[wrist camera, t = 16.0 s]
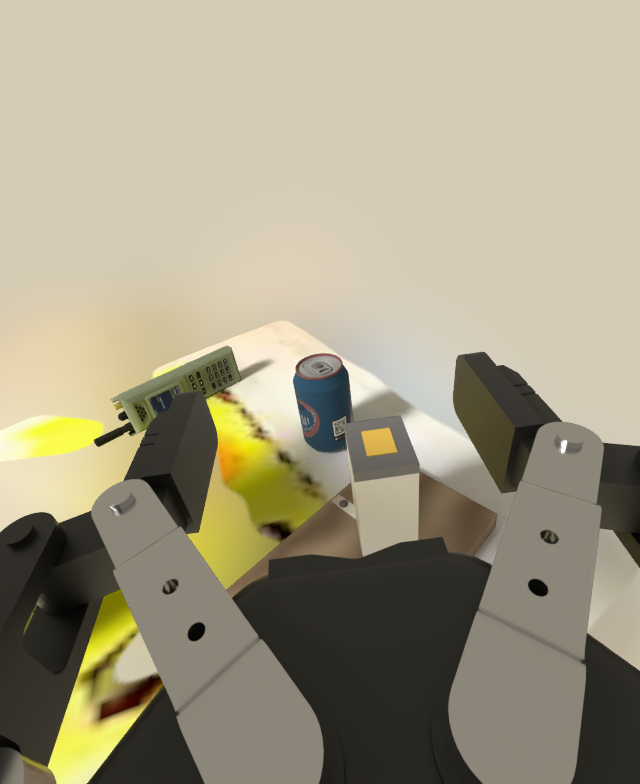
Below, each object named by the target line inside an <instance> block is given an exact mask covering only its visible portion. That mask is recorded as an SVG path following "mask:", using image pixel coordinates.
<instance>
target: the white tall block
mask: <svg viewBox="0 0 640 784" xmlns="http://www.w3.org/2000/svg"><path fill="white" fill-rule="evenodd" d="M344 428H345V436H346V444H347V452H348V460H349V468H350V476H351V485H352V493H353V501H354V509H355V516H356V521H357V527H358V533H359V538H360V544H361V550H362V555H363V557H364V556H367V555H369V554H372V553H374V552H377V551H379V550H382V549H384V548H387V547H389V546H392V545H395V544H397V543H400V542H407V541H415V540H418V518H419V462H418V459H417V457H416V454H415V451H414V449H413V446H412V444H411V441H410V439H409V436H408V434H407V431H406V428H405V426H404V423H403V421H402V418H401V416H394V417H387V418H380V419H373V420H366V421H359V422H352V423H346V424H344Z"/></svg>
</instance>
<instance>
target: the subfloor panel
mask: <svg viewBox="0 0 640 784" xmlns="http://www.w3.org/2000/svg"><path fill="white" fill-rule="evenodd" d="M496 519H497V514H496V513H494V512H492V511H490V510H489V509H487V508H485V507H483V506H481V505H479V504H478V503H476V502H474V501H472V500H470V499H469V498H467V497H465V496H463V495H461V494H459V493H458V492H456V491H454V490H452V489H450V488H449V487H447V486H445V485H443V484H441V483H439V482H438V481H436V480H434V479H432V478H430V477H429V476H427V475H425V474H423V473H421V472H420V471H419V518H418V540H422V539H430V538H438V537H443V539H444V542H445V545H446V548H447V550H448V551H455V552H459V553H464V554H467V555H470V556H473V555H474V554H475V552H476V551H477V550H478V549H479V547H480V546H481V545H482V543H483V542H484V541H485V539H486V538H487V537H488V535H489V534H490V533H491V532H492V530H493V529H494V528H495V524H496ZM308 554H315V555H324V556H333V557H342V558H351V559H357V558H361V557H363V555H362V550H361V544H360V538H359V533H358V527H357V521H356V516H355V509H354V501H353V493H352V485H351V483H350V484H349V485H348V486H347V487H345V488H344V489H343V490H342V491H341V492H340V493H338V494H337V495H336V496H335V497H334V498H333V499H331V500H330V501H329V502H328V503H327V504H326V505H324V506H323V507H322V508H321V509H320V510H319V511H317V512H316V513H315V514H314V515H313V516H312V517H310V518H309V519H308V520H307V521H306V522H305V523H304V524H302V525H301V526H300V527H299V528H298V529H297V530H295V531H294V532H293V533H292V534H291V535H290V536H288V537H287V538H286V539H285V540H284V541H283V542H281V543H280V544H279V545H278V546H277V547H276V548H274V549H273V550H272V551H271V552H270V553H269V554H267V555H266V556H265V557H264V558H263V559H262V560H261V561H259V562H258V563H257V564H256V565H255V566H254V567H252V568H251V569H250V570H249V571H248V572H247V573H245V574H244V575H243V576H242V577H241V578H240V579H238V580H237V581H236V582H235V583H234V584H233V585H231V586H230V587H229V588H228V589H227V590H226V591H227V592H228V594H229V595H230V597H231V598H232V597H233V596H234V595H235V594H236V593H238V592H239V591H240V590H241V589H242V588H244V587H245V586H247V585H248V584H250V583H251V582H253V581H254V580H256V579H258V578H260V577H262V576H264V575H267V574H268V568H269V560H271V559H278V558H286V557H293V556H301V555H308Z"/></svg>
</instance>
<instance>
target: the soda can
mask: <svg viewBox="0 0 640 784" xmlns="http://www.w3.org/2000/svg"><path fill="white" fill-rule="evenodd" d="M293 383H294V388H295V394H296V399H297V404H298V409H299V414H300V419H301V424H302V429H303V434H304V438H305V440H306V442H307V443H308V444H309V445H310V446H311V447H312V448H314V449H315V450H317V451H319V452H322V453H334V452H338V451H340V450H342V449H344V448H345V447H346V446H347V444H346V436H345V428H344V424H346V423H352V422H354V421H353V412H352V403H351V393H350V384H349V375H348V371H347V370H346V368H345V367H344V366H343V364H342V360H341V359H340V358H339V357H338V356H335V355H332V354H325V353H323V354H314V355H311V356H308V357H306V358H304V359H302V360H301V361H299V362H298V364H297V365H296V373H295V376H294V379H293Z"/></svg>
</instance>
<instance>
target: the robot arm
mask: <svg viewBox="0 0 640 784" xmlns="http://www.w3.org/2000/svg"><path fill="white" fill-rule="evenodd" d="M453 402H454V408H455V412H456V414H457V416H458V418H459V420H460V422H461V423H462V425H463V427H464V428H465V430H466V432H467V434H468V435H469V437H470V439H471V441H472V443H473V444H474V446H475V448H476V450H477V451H478V453H479V455H480V457H481V458H482V460H483V462H484V464H485V465H486V467H487V469H488V471H489V472H490V474H491V476H492V478H493V479H494V481H495V483H496V485H497V486H498V488H499V490H500V492H501V493H507V492H515V491H517V492H516V495H515V498H514V501H513V504H512V507H511V510H510V513H509V517H508V520H507V523H506V526H505V529H504V532H503V535H502V538H501V541H500V544H499V547H498V550H497V553H496V556H495V560H494V563H493V566H492V565H491V564H489V563H487V562H485V561H483V560H481V559H478V558H476V557H473V556H470V555H467V554H464V553H459V552H455V551H448V550H447V548H446V545H445V542H444V539H443V537H438V538H430V539H422V540H415V541H407V542H400V543H397V544H395V545H392V546H389V547H387V548H384V549H382V550H379V551H377V552H374V553H372V554H369V555H367V556H364V557H361V558H357V559H351V558H342V557H333V556H324V555H315V554H308V555H301V556H293V557H286V558H278V559H271V560H269V568H268V574H267V575H264V576H262V577H260V578H258V579H256V580H254V581H253V582H251V583H250V584H248V585H247V586H245V587H244V588H242V589H241V590H240V591H239V592H238V593H236V594H235V595H234V596H233V597H232V598H231V597H230V595H229V594H228V592H227V591H226V590H225V588H224V587H223V585H222V584H221V583H220V581H219V580H218V578H217V577H216V576H215V574H214V573H213V571H212V570H211V568H210V567H209V566H208V564H207V563H206V561H205V560H204V558H203V557H202V556H201V554H200V553H199V551H198V550H197V549H196V547H195V546H194V544H193V543H192V541H191V540H190V539H189V537H188V536H187V534H190V533H198V532H199V529H200V524H201V520H202V515H203V511H204V506H205V501H206V497H207V492H208V487H209V483H210V478H211V474H212V469H213V465H214V460H215V455H216V451H217V445H218V438H217V431H216V427H215V425H214V422H213V419H212V416H211V413H210V410H209V408H208V405H207V402H206V399H205V396H204V394H203V393H202V391H200V390H199V391H192V392H184V393H177V394H175V396H174V398H173V401H172V403H171V406H170V408H169V410H168V411H162V412H160V413H159V414H158V415H157V416H156V417H155V418H154V419H153V420H152V421H151V422H150V424H149V426H148V428H147V430H146V433H145V437H143V439H142V441H141V444H140V447H139V448H138V450H137V452H136V455H135V457H134V459H133V461H132V463H131V466H130V468H129V470H128V472H127V474H126V476H125V479H124V481H122V482H120V483H117V484H116V485H113V486H112V487H110V488H108V489H107V490H106V491H105V492H103V493H102V494H101V495H100V496H99V497H98V499H97V500H96V501H95V503H94V505H93V507H92V511H89V512H87V513H84V514H82V515H79V516H77V517H74V518H71V519H69V520H66V521H63V522H61V523H58V522H57V521H56V519H55V518H54V517H53V516H52V515H51V514H49V513H45V512H39V513H34V514H30V515H27V516H24V517H22V518H20V519H18V520H16V521H15V522H13V523H12V524H10V525H9V526H8V527H6V528H5V529H3V530H2V531H1V532H0V784H56V780H55V777H54V775H53V773H52V771H51V770H50V769H49V768H47V767H48V764H49V761H50V758H51V755H52V752H53V749H54V745H55V742H56V739H57V736H58V733H59V730H60V727H61V724H62V721H63V718H64V715H65V712H66V709H67V706H68V703H69V700H70V697H71V694H72V691H73V688H74V685H75V682H76V679H77V676H78V673H79V670H80V667H81V664H82V661H83V658H84V655H85V652H86V649H87V646H88V643H89V639H90V636H91V633H92V630H93V627H94V624H95V621H96V618H97V615H98V612H99V609H100V606H101V603H102V600H103V597H104V596H106V595H108V594H110V593H112V592H115V591H117V590H119V589H121V591H122V594H123V596H124V598H125V600H126V602H127V605H128V607H129V609H130V611H131V613H132V616H133V618H134V620H135V622H136V624H137V627H138V629H139V631H140V633H141V635H142V638H143V640H144V642H145V644H146V646H147V649H148V651H149V653H150V655H151V657H152V660H153V662H154V664H155V666H156V668H157V671H158V673H159V675H160V677H161V679H162V682H163V684H164V685H163V686H162V687H161V689H160V690H159V691H158V692H157V694H156V695H155V696H154V698H153V699H152V700H151V701H150V703H149V704H148V705H147V707H146V708H145V709H144V711H143V712H142V713H141V714H140V716H139V717H138V718H137V720H136V721H135V722H134V724H133V725H132V726H131V727H130V729H129V730H128V731H127V733H126V734H125V735H124V737H123V738H122V739H121V740H120V742H119V743H118V744H117V746H116V747H115V748H114V750H113V751H112V752H111V753H110V755H109V756H108V757H107V759H106V760H105V761H104V762H103V764H102V765H101V766H100V768H99V769H98V770H97V772H96V773H95V774H94V775H93V777H92V778H91V779H90V781H89V782H88V783H87V784H640V671H639V670H638V669H636V668H635V667H633V666H632V665H631V664H629V663H628V662H627V661H625V660H624V659H622V658H621V657H620V656H618V655H617V654H615V653H614V652H613V651H611V650H610V649H609V648H607V647H606V646H604V645H603V644H602V643H600V642H599V641H597V640H596V639H594V638H593V637H592V636H591V635H589V634H588V633H587V628H588V619H589V611H590V603H591V594H592V586H593V578H594V569H595V561H596V553H597V545H598V536H599V528H602V529H609V530H613V531H614V533H615V534H616V535H617V537H618V538H619V540H620V541H621V542H622V544H623V545H624V547H625V548H626V549H627V551H628V552H629V554H630V555H631V556H632V558H633V559H634V561H635V562H636V563H637V565H638V566H639V568H640V446H631V445H621V444H620V445H619V444H609V443H603V442H602V441H601V439H600V438H599V437H598V436H597V435H596V434H595V433H593V432H592V431H590V430H589V429H587V428H585V427H582V426H580V425H577V424H573V423H568V422H562V421H561V420H560V418H558V417H557V415H556V414H555V413H554V412H553V411H552V410H551V409H550V407H549V406H548V405H547V404H546V403H545V402H544V401H543V400H542V399H541V398H540V397H539V395H538V394H535V391H534V390H533V389H532V388H531V387H530V386H528V385H527V382H526V381H525V380H524V379H523V378H522V377H521V376H520V375H519V373H517V372H515V371H513V370H512V369H509V368H508V367H506V366H504V365H501V366H496V364H495V363H494V362H493V361H492V360H491V359H490V357H489V356H488V355H487V354H486V353H485V352H478V353H471V354H464V355H459V356H458V357H457V360H456V369H455V381H454V391H453ZM36 604H37V607H36V609H35V612H34V613H33V610H34V607H35V605H36Z"/></svg>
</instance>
